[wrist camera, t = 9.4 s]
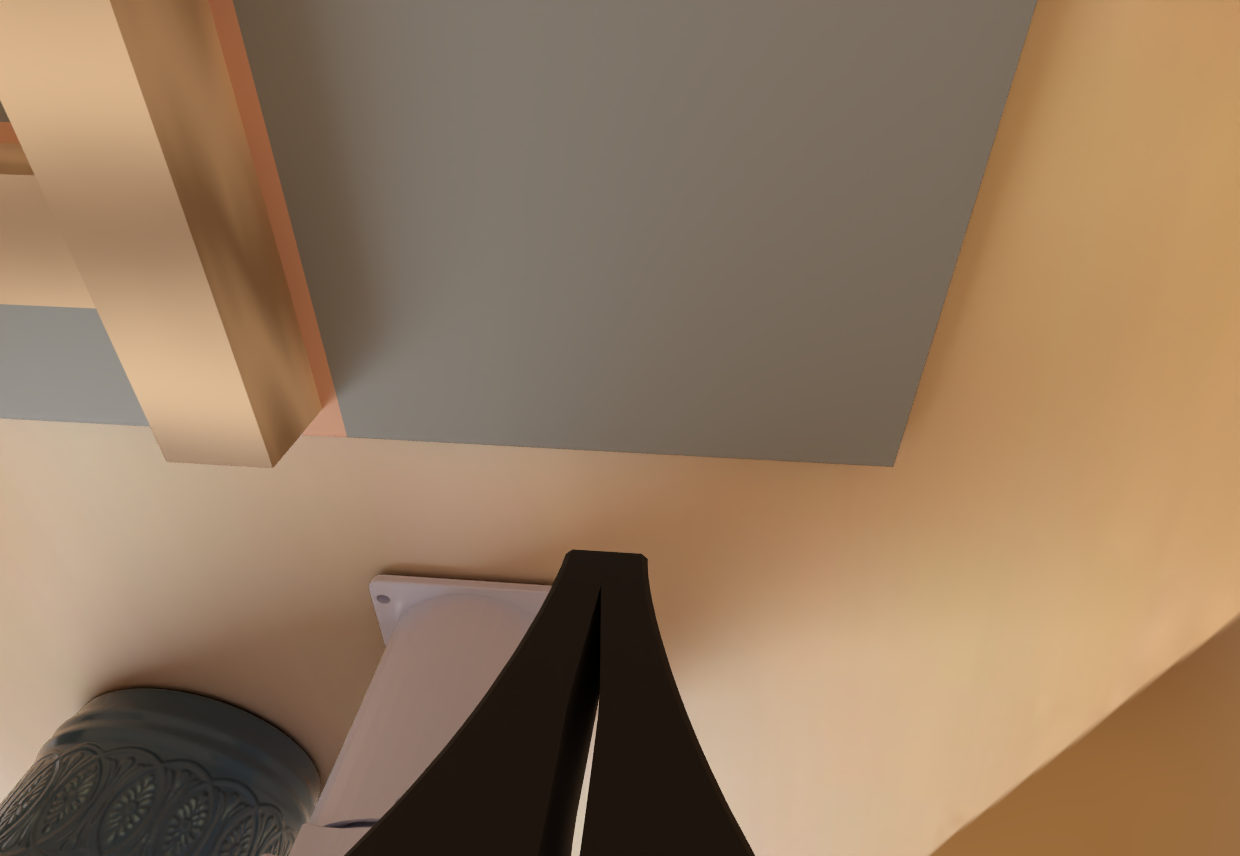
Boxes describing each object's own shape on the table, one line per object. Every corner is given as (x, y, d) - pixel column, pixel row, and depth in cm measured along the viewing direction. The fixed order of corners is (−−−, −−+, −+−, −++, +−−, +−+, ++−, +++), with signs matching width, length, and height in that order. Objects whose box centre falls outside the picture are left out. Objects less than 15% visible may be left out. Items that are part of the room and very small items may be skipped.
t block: (322, 409, 20) (272, 467, 18) (-15, 391, 21) (-109, 445, 18) (185, -81, 14) (75, -96, 11) (-306, -88, 14) (-514, -103, 12)
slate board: (884, 447, 21) (893, 466, 20) (-70, 397, 22) (-98, 413, 22) (1053, -129, 13) (1079, -136, 12) (-427, -141, 15) (-494, -149, 14)
